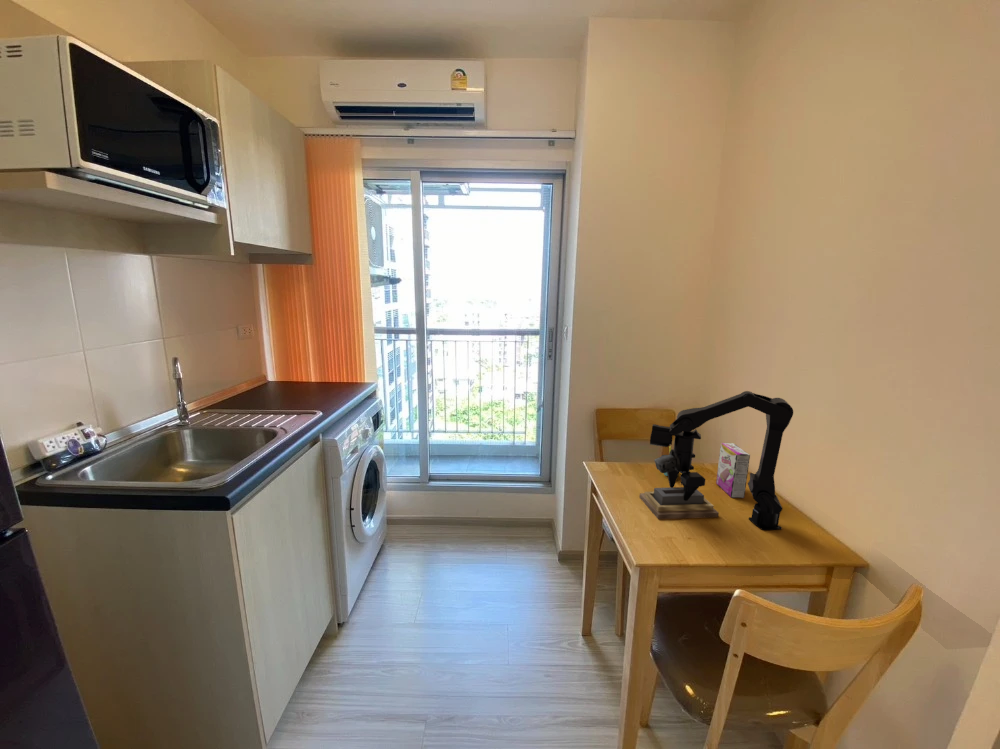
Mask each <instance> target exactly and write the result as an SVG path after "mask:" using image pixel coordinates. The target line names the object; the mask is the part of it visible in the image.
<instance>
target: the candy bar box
mask: <svg viewBox="0 0 1000 749" xmlns="http://www.w3.org/2000/svg"><path fill="white" fill-rule="evenodd" d="M718 456H719V458H718V464H717V465H718V466H717V473H716V480H715V483H716V485H717V486H718V487H719V488H721V489H722V491H724V492H725V493H726V494H727V496H729V497H730V498H733V499H745V496H746V495H745V494H746V488H747V487H746V486H747V480H748V472H749V466H750V465H749V464H750V459H751V454H749V453H748V452H747V451H745V450H744V449H742V448H741V447H739V446H738V445H737V444H735V443H734V442H720V449H719V454H718Z"/></svg>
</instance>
